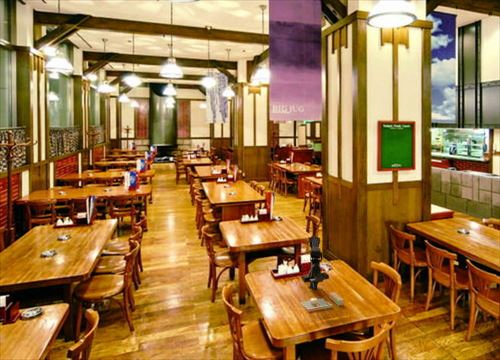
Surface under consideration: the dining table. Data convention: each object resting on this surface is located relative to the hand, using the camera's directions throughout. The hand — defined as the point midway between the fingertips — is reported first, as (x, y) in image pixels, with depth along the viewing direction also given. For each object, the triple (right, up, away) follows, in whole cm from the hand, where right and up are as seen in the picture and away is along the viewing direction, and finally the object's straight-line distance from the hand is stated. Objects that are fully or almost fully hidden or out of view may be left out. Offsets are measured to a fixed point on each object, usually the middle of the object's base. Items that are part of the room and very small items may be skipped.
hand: (314, 288), depth 246 cm
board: (0, -11, -3) cm, 12 cm away
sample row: (+15, -10, +2) cm, 19 cm away
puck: (-1, -10, 0) cm, 10 cm away
